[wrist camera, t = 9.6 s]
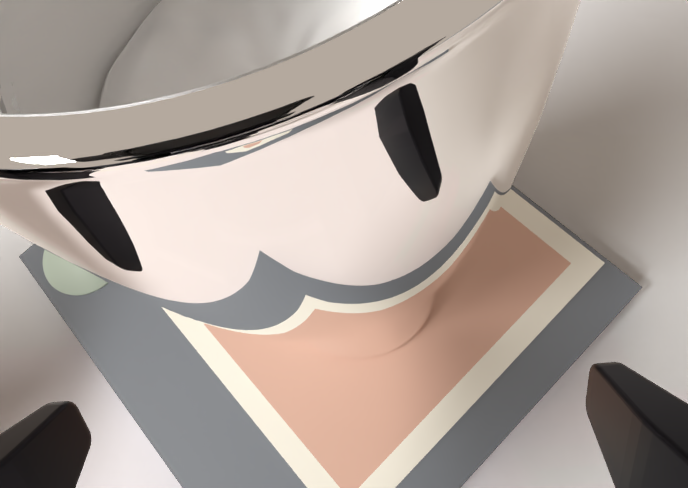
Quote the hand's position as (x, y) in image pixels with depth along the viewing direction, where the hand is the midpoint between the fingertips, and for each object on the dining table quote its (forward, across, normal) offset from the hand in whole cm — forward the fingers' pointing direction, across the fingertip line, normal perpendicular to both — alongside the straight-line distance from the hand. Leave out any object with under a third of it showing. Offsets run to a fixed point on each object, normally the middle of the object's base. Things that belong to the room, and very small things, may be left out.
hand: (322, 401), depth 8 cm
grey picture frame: (+10, +2, +3) cm, 11 cm away
